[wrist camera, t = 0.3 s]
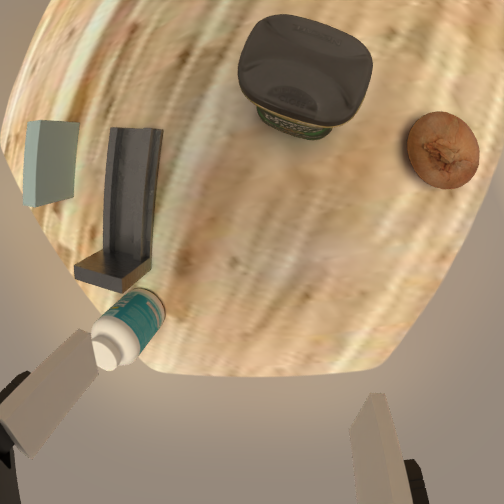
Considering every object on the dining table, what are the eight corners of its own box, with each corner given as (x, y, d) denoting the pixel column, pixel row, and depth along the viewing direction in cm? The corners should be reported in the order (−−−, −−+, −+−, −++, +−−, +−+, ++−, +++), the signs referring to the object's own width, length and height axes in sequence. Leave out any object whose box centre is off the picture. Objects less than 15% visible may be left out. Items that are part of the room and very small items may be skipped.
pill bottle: (139, 277, 42) (89, 320, 29) (175, 310, 43) (136, 363, 30) (118, 305, 44) (72, 349, 32) (151, 335, 45) (113, 387, 32)
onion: (401, 165, 35) (397, 183, 28) (414, 102, 30) (414, 100, 23) (461, 188, 31) (473, 212, 24) (477, 125, 26) (496, 131, 19)
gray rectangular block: (66, 123, 36) (27, 121, 28) (80, 122, 36) (40, 120, 27) (61, 195, 40) (23, 205, 31) (74, 197, 40) (35, 207, 31)
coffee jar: (251, 123, 34) (212, 87, 16) (271, 68, 31) (253, -7, 13) (325, 150, 33) (360, 139, 16) (345, 94, 31) (392, 39, 13)
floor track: (115, 128, 36) (77, 124, 27) (163, 130, 35) (131, 124, 27) (107, 258, 42) (74, 278, 34) (151, 269, 41) (122, 293, 33)
